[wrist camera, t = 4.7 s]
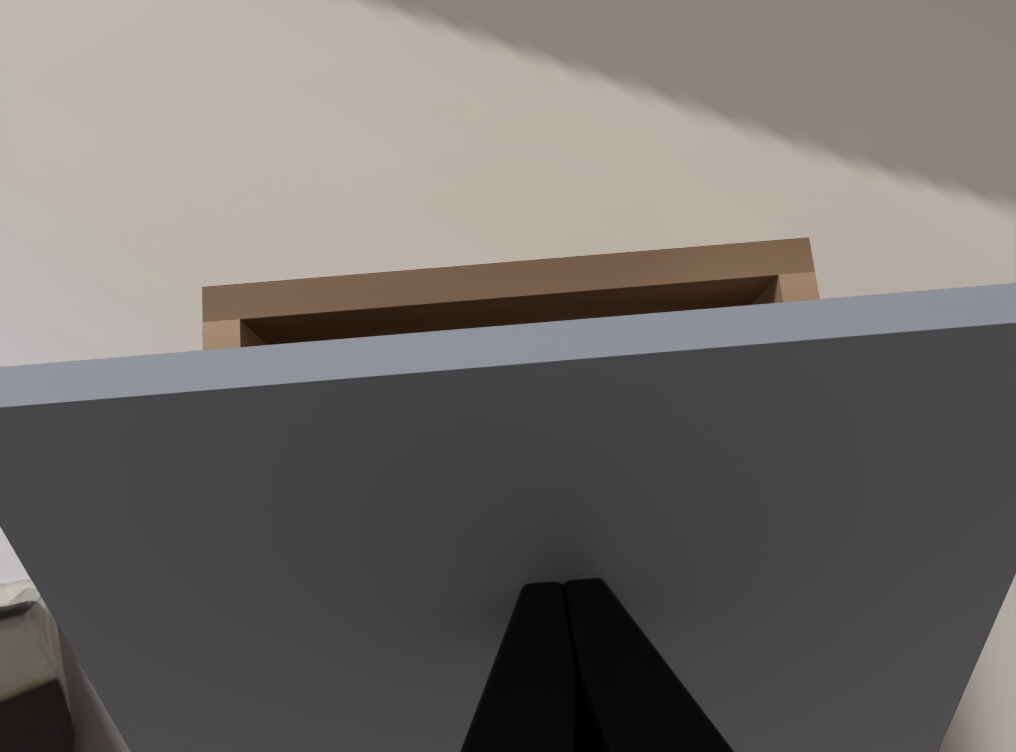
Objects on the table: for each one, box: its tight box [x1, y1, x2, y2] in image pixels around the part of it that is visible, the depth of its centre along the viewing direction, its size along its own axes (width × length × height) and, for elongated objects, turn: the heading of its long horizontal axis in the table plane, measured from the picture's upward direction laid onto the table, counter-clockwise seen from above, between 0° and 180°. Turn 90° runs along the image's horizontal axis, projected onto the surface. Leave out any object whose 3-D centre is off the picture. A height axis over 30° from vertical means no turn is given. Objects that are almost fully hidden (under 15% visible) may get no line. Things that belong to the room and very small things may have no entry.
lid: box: [0, 283, 1016, 752], centre depth 10 cm, size 8×10×1 cm
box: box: [202, 238, 819, 350], centre depth 16 cm, size 8×10×6 cm
